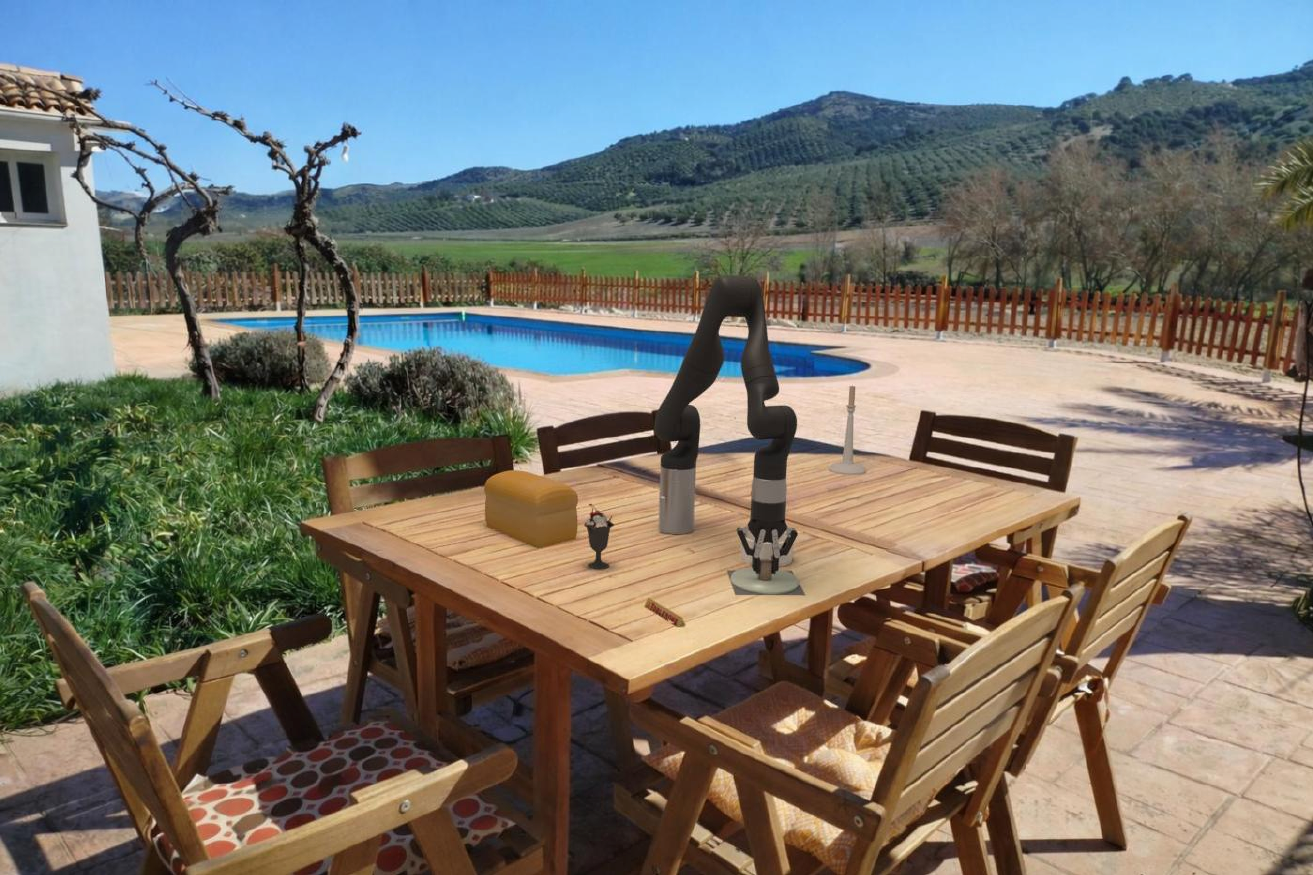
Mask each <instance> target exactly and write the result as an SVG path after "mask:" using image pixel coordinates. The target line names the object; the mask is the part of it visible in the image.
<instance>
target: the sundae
mask: <svg viewBox="0 0 1313 875" xmlns="http://www.w3.org/2000/svg"><path fill="white" fill-rule="evenodd" d="M588 506H589V507H591V509H592V510H591V512H590V513H589V517H588V518H587V520H586V522H585V523H584V524H583V526H584V527H585V528H586V529H587V530H586V531H587V535H588V536H587V537H588V542H589V547H590V549H591V550H593V551H594V552H595V560H594V561H593V562H589V563H588V564H587V567H588V568H589V569H592V570H599V571H600V570H605V569H608V568H609V567H610V565H609V563H607V562H605V561H603V560H602V553H603V551H605V550H606V548H608V543H609V537H610V531H611V530H610V529H612V528H613V527H614V526H615V524H614V523H613V522H612V521H611V520H612V518H613V515H611V516H610V517H609V519H608V518H607V515H606V514H605V513H604V512H600V511H599V510H597V509H596V508H595V506H594V505H593V504H592V503H588ZM594 510H595V511H594Z"/></svg>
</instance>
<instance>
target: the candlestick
mask: <svg viewBox="0 0 1313 875" xmlns="http://www.w3.org/2000/svg"><path fill="white" fill-rule="evenodd" d="M848 391H849V392H848V404H847V405H845V406H846V407H847V409H846V411H847V412H848V414H847V420H846V428H845V435H844V436H845V438H844V447H843V452H842V453H843V454H842V461H841V462H836V463H833V464H831V465H829V466H828V471H829V472H831V473H834V474H839V475H846V476H847V475H848V476H850V475H851V476H858V475H864V474H866V473H867V469H866V468H865V467H864V466H863V465H861V464H859V463H855V462H854V412H855V410H856V407H857V405H855V403H856V402H855V399H856V386H854V385H849V390H848Z"/></svg>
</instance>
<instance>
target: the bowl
mask: <svg viewBox="0 0 1313 875" xmlns="http://www.w3.org/2000/svg"><path fill="white" fill-rule="evenodd" d="M786 538H787V536H786V531H785V532H784V533H783V535H782V536H781V537H780V538H779V540H778V542H779V549H780V548H781V547H782V545H783V544H784V542H785V540H786ZM746 540H747V543H748V545H749V547H750V548H752V549H753V547H754V540H755V537H754V536H753V535H752V533H751V532H750V531H748V537H746ZM740 555H741V556H740V559H741V560H742V561H743V562H744V563H746V564H749V565H751V566H752V556H751V555H747V554H746V552H745V550H744V547H743V545H742V543H741V542H740ZM771 555H773V552H772V545H771V543H769V542H766V543H763V545H762V548H761V551H760V556H759V557H760V560H761V559H768V560H771ZM793 558H794V544H793V545H792V547H791V549H790V551H789V553H788V555H786V556H784V555H783V556H781V557H780V558H779V568H780V567H784V566H788V565H791V563H792V561H793Z"/></svg>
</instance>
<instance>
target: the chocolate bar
mask: <svg viewBox="0 0 1313 875" xmlns="http://www.w3.org/2000/svg"><path fill="white" fill-rule="evenodd" d="M643 608H645V609H647V610H648V611H650V612H652V613H654V614H655V615H656V616H658V617H660V618H662V619H663V620H664V621H666V622H670V624H671V625H672V626H674V627H676V628H681V627H684V626H686V623H685V621H684V618H683V617H682V616H680V615H679V614H677V613H675V612H673V611H672V610H670V609H669V608H667V607H665V606H663V605H662V604H660V603H658V602H657V601H655V600H653V599H652V598H651V597H648V598H647V601H646V602H645V604H644V607H643Z"/></svg>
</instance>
